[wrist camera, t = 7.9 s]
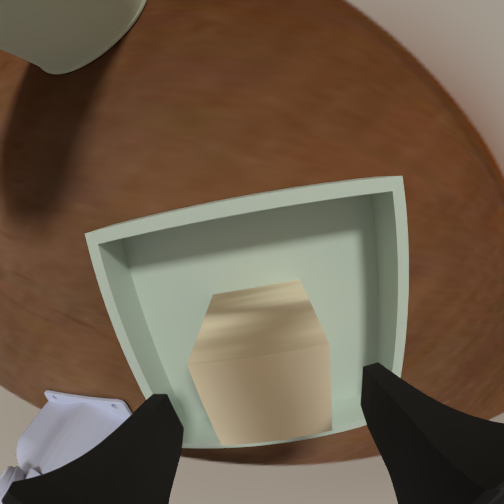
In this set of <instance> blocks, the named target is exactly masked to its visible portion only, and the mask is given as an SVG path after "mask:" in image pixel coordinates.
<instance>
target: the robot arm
mask: <svg viewBox="0 0 504 504" xmlns="http://www.w3.org/2000/svg"><path fill="white" fill-rule="evenodd" d="M45 396H46V398H47V399H48V402H47V403H46V405H45V406H44V407H43V408H42V409H41V411H40V412H39V413H38V414H37V416H36V417H35V418H34V420H33V421H32V422H31V423H30V425H29V426H28V427H27V428H26V430H25V431H24V432H23V434H22V435H21V437H20V438H19V441H18V443H17V450H16V453H17V454H16V455H17V461H18V464H19V466H20V467H17V466H16V467H12V466H9V467H7V468H6V469H5V471H4V472H3V473H2V474H1V476H0V504H168V503H169V497H170V492H171V488H172V485H173V481H174V477H175V474H176V470H177V466H178V462H179V458H180V454H181V450H182V443H183V433H184V427H183V425H182V423H181V421H180V419H179V417H178V416H177V414H176V412H175V410H174V408H173V405H172V403H171V401H170V399H169V397H168V395H167V394H152V395H151V396H150V397H149V398H148V399H147V400H146V401H145V402H144V403H143V404H142V405H141V406H140V407H139V408H138V409H137V410H136V411H135V412H134V413H133V414H132V412H131V411H130V409H129V407H128V406H127V404H126V403H125V402H124V401H122V400H119V399H107V398H97V397H88V396H81V395H73V394H67V393H61V392H55V391H49V390H46V391H45ZM360 405H361V408H362V411H363V414H364V418H365V421H366V424H367V426H368V429H369V431H370V433H371V435H372V437H373V439H374V441H375V443H376V446H377V448H378V450H379V452H380V454H381V456H382V458H383V460H384V462H385V465H386V467H387V469H388V471H389V474H390V477H391V480H392V483H393V487H394V490H395V493H396V497H397V501H398V504H504V424H503V423H498V422H492V421H488V420H485V419H481V418H478V417H474V416H471V415H468V414H465V413H463V412H460V411H458V410H455V409H453V408H451V407H448V406H446V405H444V404H442V403H440V402H438V401H436V400H435V399H433V398H431V397H429V396H427V395H426V394H424V393H422V392H421V391H419V390H418V389H416V388H414V387H413V386H411V385H410V384H408V383H407V382H405V381H404V380H403V379H401V378H400V377H398V376H397V375H395V374H394V373H393V372H391V371H390V370H388V369H387V368H386V367H384V366H383V365H381V364H380V363H379V362H377V363H374V364H370V365H367V366H363V373H362V390H361V403H360Z"/></svg>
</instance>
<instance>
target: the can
mask: <svg viewBox="0 0 504 504" xmlns="http://www.w3.org/2000/svg"><path fill="white" fill-rule="evenodd" d="M146 1H147V0H0V50H2V51H5V52H8V53H10V54H13V55H15V56H17V57H20V58H22V59H24V60H26V61H29V62H31V63H33V64H35V65H37V66H39V67H40V68H41V69H42V70H44V71H45V72H47V73H50V74H65V73H68V72H72V71H75V70H77V69H79V68H81V67H83V66H85V65H87V64H89V63H91V62H92V61H94V60H95V59H97V58H98V57H100V56H101V55H102V54H104V53H105V52H106V51H107V50H109V49H110V48H111V47H112V46H113V45H114V44H116V43H117V42H118V41H119V40H120V39H121V38H122V37H123V36H124V35H125V34H126V32H127V31H128V30H129V29H130V28H131V27H132V25H133V24H134V23H135V22H136V20H137V19H138V17H139V16H140V14H141V12H142V10H143V9H144V6H145V4H146Z"/></svg>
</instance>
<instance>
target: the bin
mask: <svg viewBox="0 0 504 504" xmlns="http://www.w3.org/2000/svg"><path fill="white" fill-rule="evenodd" d="M85 236H86V240H87V245H88V249H89V252H90V256H91V260H92V264H93V267H94V271H95V274H96V277H97V281H98V284H99V287H100V290H101V293H102V296H103V299H104V302H105V305H106V308H107V311H108V314H109V317H110V319H111V322H112V325H113V327H114V330H115V332H116V335H117V337H118V340H119V342H120V345H121V347H122V350H123V352H124V354H125V356H126V359H127V361H128V363H129V365H130V368H131V370H132V372H133V374H134V376H135V378H136V380H137V382H138V384H139V386H140V388H141V390H142V392H143V394H144V396H145V398H146V400H147V399H148V398H149V397H150V396H151V395H152V394H167V395H168V397H169V399H170V401H171V403H172V405H173V408H174V410H175V412H176V414H177V416H178V417H179V419H180V421H181V423H182V425H183V427H184V433H183V443H182V448H235V447H250V446H261V445H270V444H278V443H286V442H292V441H299V440H304V439H310V438H315V437H320V436H325V435H329V434H334V433H338V432H342V431H346V430H350V429H354V428H357V427H361V426H365V425H367V424H366V421H365V418H364V414H363V411H362V408H361V405H360V403H361V390H362V373H363V366H367V365H370V364H374V363H377V362H379V363H380V364H381V365H383V366H384V367H386V368H387V369H388V370H390V371H391V372H393V373H394V374H395V375H397V376H398V377H401V371H402V364H403V356H404V348H405V339H406V328H407V314H408V293H409V248H408V227H407V213H406V202H405V193H404V185H403V177H402V176H383V177H369V178H360V179H351V180H343V181H335V182H328V183H320V184H313V185H306V186H299V187H293V188H286V189H280V190H274V191H268V192H262V193H256V194H251V195H245V196H240V197H234V198H229V199H224V200H219V201H214V202H209V203H204V204H199V205H194V206H189V207H185V208H180V209H176V210H171V211H167V212H162V213H158V214H154V215H149V216H145V217H141V218H137V219H133V220H129V221H125V222H121V223H117V224H114V225H110V226H107V227H104V228H101V229H98V230H95V231H92V232H89V233H86V234H85ZM299 279H300V281H301V283H302V285H303V287H304V289H305V291H306V294H307V296H308V298H309V300H310V302H311V304H312V307H313V309H314V311H315V313H316V315H317V318H318V320H319V322H320V324H321V327H322V329H323V331H324V333H325V335H326V338H327V340H328V342H329V352H330V369H331V394H332V431H327V432H323V433H318V434H313V435H308V436H303V437H297V438H291V439H284V440H277V441H269V442H261V443H250V444H238V445H221V443H220V441H219V439H218V437H217V434H216V432H215V430H214V428H213V426H212V424H211V421H210V419H209V417H208V415H207V412H206V410H205V408H204V405H203V403H202V401H201V398H200V396H199V394H198V391H197V389H196V386H195V384H194V381H193V379H192V376H191V374H190V371H189V368H188V366H187V363H188V360H189V358H190V355H191V352H192V349H193V347H194V344H195V341H196V339H197V336H198V333H199V330H200V328H201V325H202V322H203V320H204V317H205V314H206V312H207V309H208V306H209V304H210V301H211V299H212V296H213V294H219V293H225V292H231V291H237V290H243V289H249V288H255V287H260V286H266V285H272V284H277V283H283V282H288V281H293V280H299Z"/></svg>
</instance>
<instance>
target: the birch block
mask: <svg viewBox="0 0 504 504" xmlns="http://www.w3.org/2000/svg"><path fill="white" fill-rule="evenodd" d="M187 366H188V368H189V371H190V374H191V376H192V379H193V381H194V384H195V386H196V389H197V391H198V394H199V396H200V398H201V401H202V403H203V405H204V408H205V410H206V412H207V415H208V417H209V419H210V421H211V424H212V426H213V428H214V430H215V432H216V434H217V437H218V439H219V441H220V443H221V445H238V444H250V443H261V442H269V441H277V440H284V439H291V438H297V437H303V436H308V435H313V434H318V433H323V432H327V431H332V394H331V369H330V352H329V342H328V340H327V338H326V335H325V333H324V331H323V329H322V327H321V324H320V322H319V320H318V318H317V315H316V313H315V311H314V309H313V307H312V304H311V302H310V300H309V298H308V296H307V294H306V291H305V289H304V287H303V285H302V283H301V281H300V279H299V280H293V281H288V282H283V283H277V284H272V285H266V286H260V287H255V288H249V289H243V290H237V291H231V292H225V293H219V294H213V296H212V299H211V301H210V304H209V306H208V309H207V312H206V314H205V317H204V320H203V322H202V325H201V328H200V330H199V333H198V336H197V339H196V341H195V344H194V347H193V349H192V352H191V355H190V358H189V360H188V363H187Z"/></svg>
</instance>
